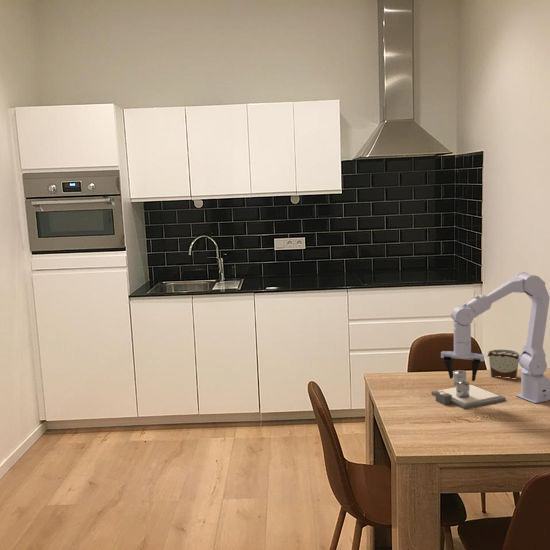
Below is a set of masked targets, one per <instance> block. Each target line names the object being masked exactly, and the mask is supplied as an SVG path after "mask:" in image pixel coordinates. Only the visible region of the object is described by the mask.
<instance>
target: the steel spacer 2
mask: <svg viewBox="0 0 550 550" xmlns="http://www.w3.org/2000/svg"><path fill="white" fill-rule="evenodd" d="M469 384H470V381H468V380H466V381H462V380H461V381H456V386H455V387H456V396H457V397H459V398H469Z"/></svg>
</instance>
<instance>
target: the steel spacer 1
mask: <svg viewBox="0 0 550 550" xmlns="http://www.w3.org/2000/svg"><path fill="white" fill-rule="evenodd" d="M461 380H462V381H467V372H466V370H463V369H462V370H461V369H457V370H453V385H454V387H456V381H461Z"/></svg>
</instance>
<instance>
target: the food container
mask: <svg viewBox="0 0 550 550" xmlns="http://www.w3.org/2000/svg"><path fill="white" fill-rule="evenodd" d="M520 355H521V354H520V353H519V352H518V351H515V350H511V349H509V350H508V349H492V350H489V351H488V353H487V358H488V359H489V360H488V361H489V369H490V370H489V371H490V377H491V376H501V377H510V378H516V379H517V377H518V371H519V370H518V368H519V356H520Z"/></svg>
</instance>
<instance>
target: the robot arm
mask: <svg viewBox="0 0 550 550" xmlns="http://www.w3.org/2000/svg"><path fill="white" fill-rule="evenodd" d="M512 293H519V294H521V293H525V295H526V296H528V298H530V300H531V308H530V316H529V322H528V330H527V337H526V343H525V345H524V346H523V347H522V352H521V353H520V354H519V355H520V356H519V362H518V365H520V367H521V370H520V371H521V373H520V380H521V381H520V393H516V394H515V397H518V398H521V399H523V400H526V401H529V402H531V403H534V404H538V403H543V402H547V401H548V402H549V401H550V379H549V377H547V376H546V375H545V374H544V373H546V370H547V368H548V363H547V361H546V356H547V355H546V353H545V350H544V340H545V334H546V327H547V321H548V312H549V305H550V295H549V292H548V290H547V287H546V282H545V281H544V280H543V279H542V278H541V277H540V276H539V275H538V276H537V275H536V274H534V275H533V274H530V273H527V272H525V271H523V272H519V273H517V275H514V276H511V277H510V278H509V279H508V280H506V282H504V283H502V284H500V285H499V286H498V287H496V288H495V289H494V290H491V292H489V293H488V294H486V295H485V294H479V295H478V294H476V295H474V297H473V298H472V299H471V300H469V301H467V302H464V303H462V305H460V306H456V307H454V309H453V310H452V312H451V314H450V317H451V318H452V320H453V351H450V350H449V351H448V350H447V351H445V350H442V351H441V352H440V359H443V360H442V361H443V363H444V365H445V367H446V369H447V371H448V375H449V379H450V380H452V379H454V359H455V360H456V359H460V360H469V361H470V360H471V371H472V375H471V381H472V382H475V381H476V378H477V372H478V371H479V370H478V369H479V368H480V365H481V363H482V362H484V361H485V354H483V353H474V352H472V337H471V336H472V329H471V327H472V325H471V324H473V321H474V319H475V318H477V317H479V316H480V315H482V314H483V313H485V312H487V311H488V310H490V309H491V308H492V305H493V304H494V303H496V302H498V301H499V300H501V299H503V298H505V297H507V296H508V295H511V294H512Z"/></svg>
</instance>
